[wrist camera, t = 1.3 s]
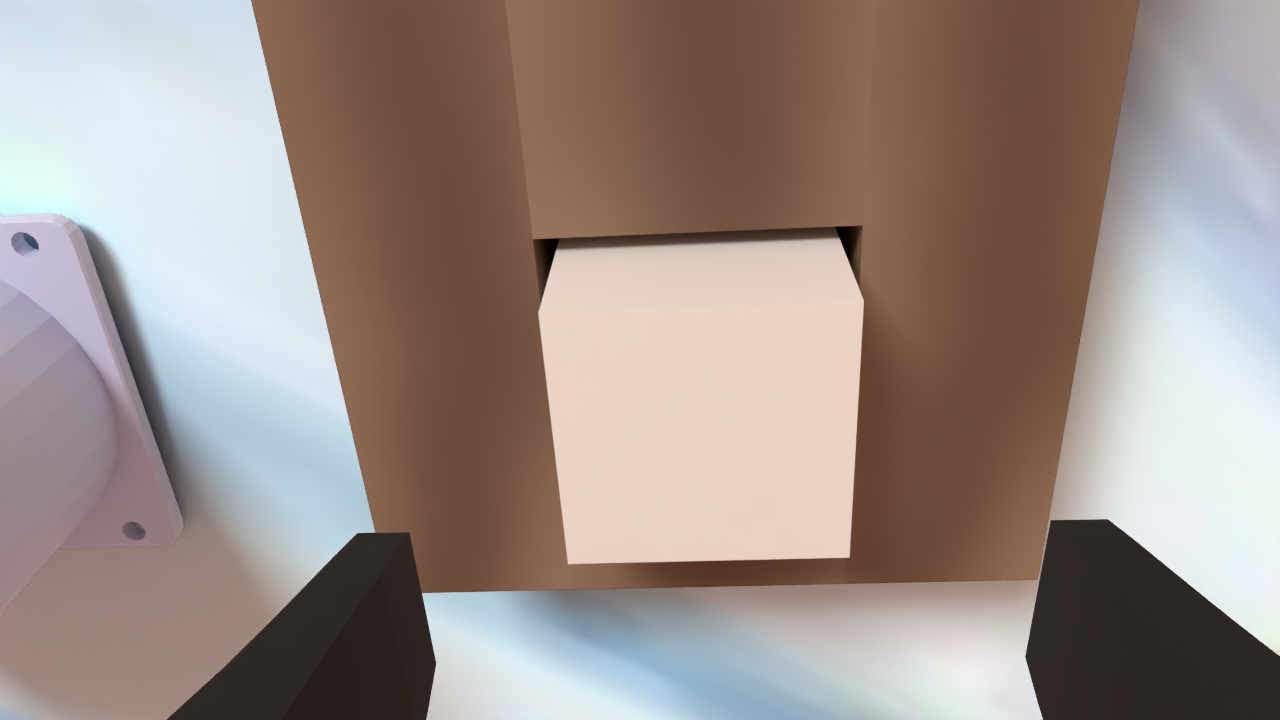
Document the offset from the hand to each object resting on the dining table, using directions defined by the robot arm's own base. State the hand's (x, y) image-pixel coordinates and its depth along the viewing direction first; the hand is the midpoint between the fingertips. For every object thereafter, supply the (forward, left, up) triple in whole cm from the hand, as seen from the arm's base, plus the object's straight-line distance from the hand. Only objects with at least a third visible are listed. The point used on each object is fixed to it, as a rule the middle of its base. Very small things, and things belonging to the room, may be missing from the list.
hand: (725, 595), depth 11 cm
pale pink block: (0, 0, -6) cm, 6 cm away
